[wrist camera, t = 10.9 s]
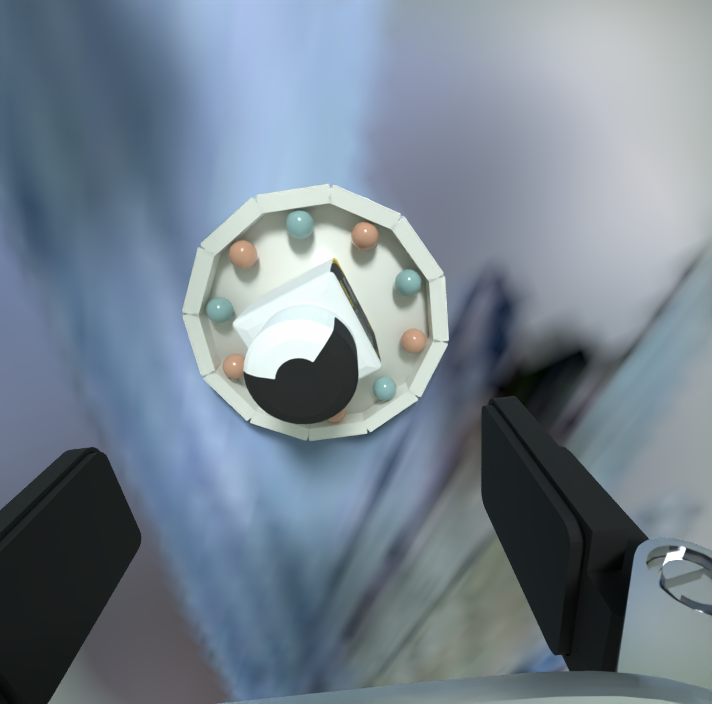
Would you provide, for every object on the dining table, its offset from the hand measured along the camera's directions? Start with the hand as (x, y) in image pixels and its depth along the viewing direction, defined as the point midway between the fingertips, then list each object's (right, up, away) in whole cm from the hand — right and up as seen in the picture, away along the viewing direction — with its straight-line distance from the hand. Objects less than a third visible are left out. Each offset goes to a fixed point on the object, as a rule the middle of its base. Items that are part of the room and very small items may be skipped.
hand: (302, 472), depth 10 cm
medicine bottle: (-2, +6, +21) cm, 22 cm away
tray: (-2, +6, +22) cm, 23 cm away
